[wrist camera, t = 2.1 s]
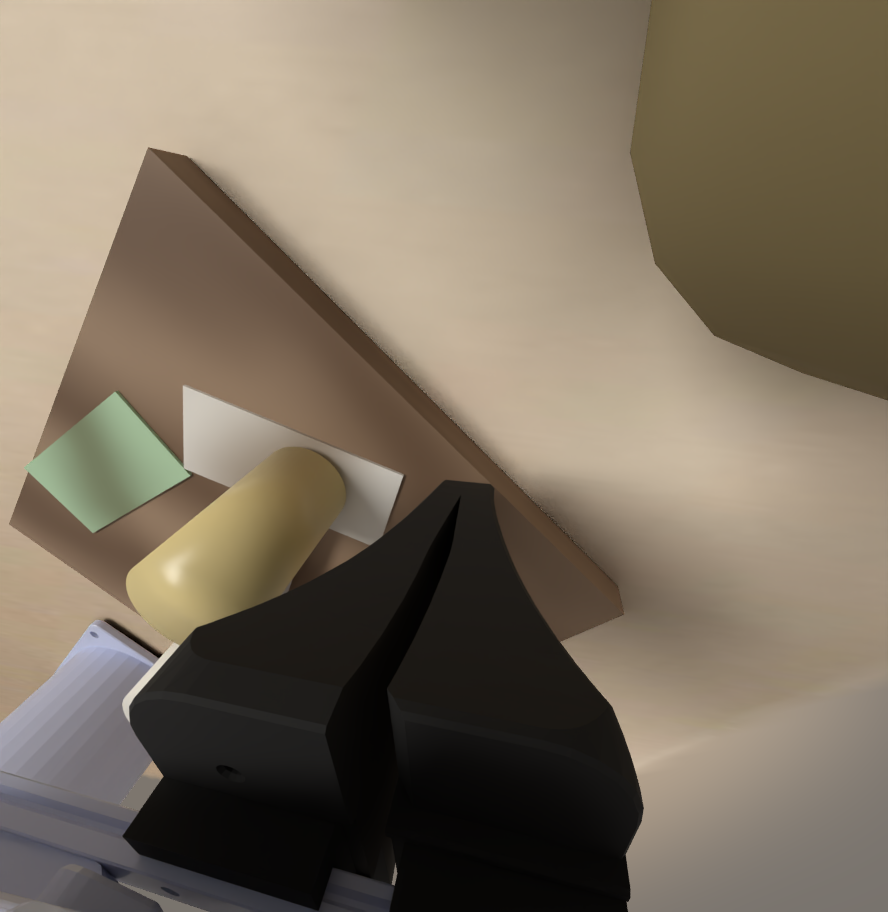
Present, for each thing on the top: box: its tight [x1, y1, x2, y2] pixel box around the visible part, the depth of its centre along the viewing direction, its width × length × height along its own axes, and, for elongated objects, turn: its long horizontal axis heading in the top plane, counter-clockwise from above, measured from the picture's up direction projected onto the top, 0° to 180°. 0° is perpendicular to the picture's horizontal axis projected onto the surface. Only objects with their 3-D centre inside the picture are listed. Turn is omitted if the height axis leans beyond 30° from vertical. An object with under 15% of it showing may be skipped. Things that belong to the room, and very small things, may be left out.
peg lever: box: [122, 447, 346, 722], centre depth 13 cm, size 13×5×5 cm, turn 156°
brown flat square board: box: [9, 147, 624, 642], centre depth 16 cm, size 18×18×1 cm
